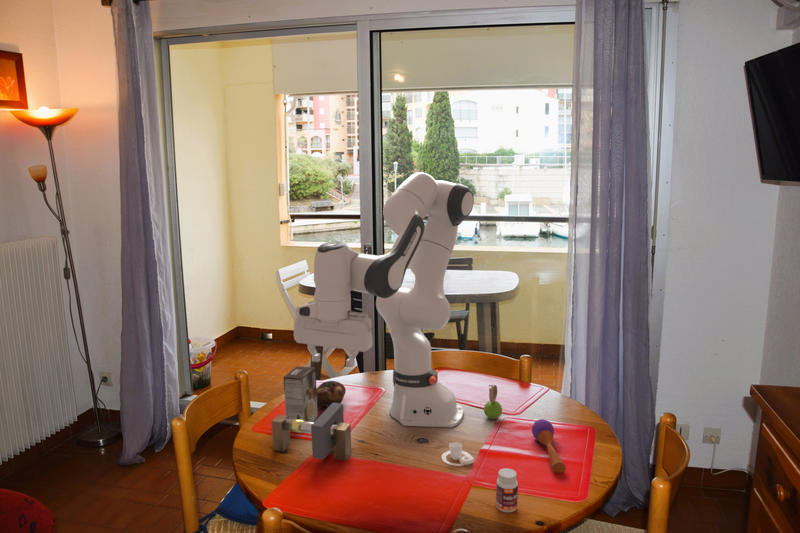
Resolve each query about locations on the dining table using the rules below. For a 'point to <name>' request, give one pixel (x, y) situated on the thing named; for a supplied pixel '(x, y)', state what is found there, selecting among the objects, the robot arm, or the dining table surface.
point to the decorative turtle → (330, 393)
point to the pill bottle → (507, 490)
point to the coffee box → (301, 394)
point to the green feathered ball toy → (492, 404)
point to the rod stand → (285, 425)
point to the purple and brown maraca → (548, 443)
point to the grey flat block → (325, 430)
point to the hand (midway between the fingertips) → (333, 363)
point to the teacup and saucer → (457, 455)
